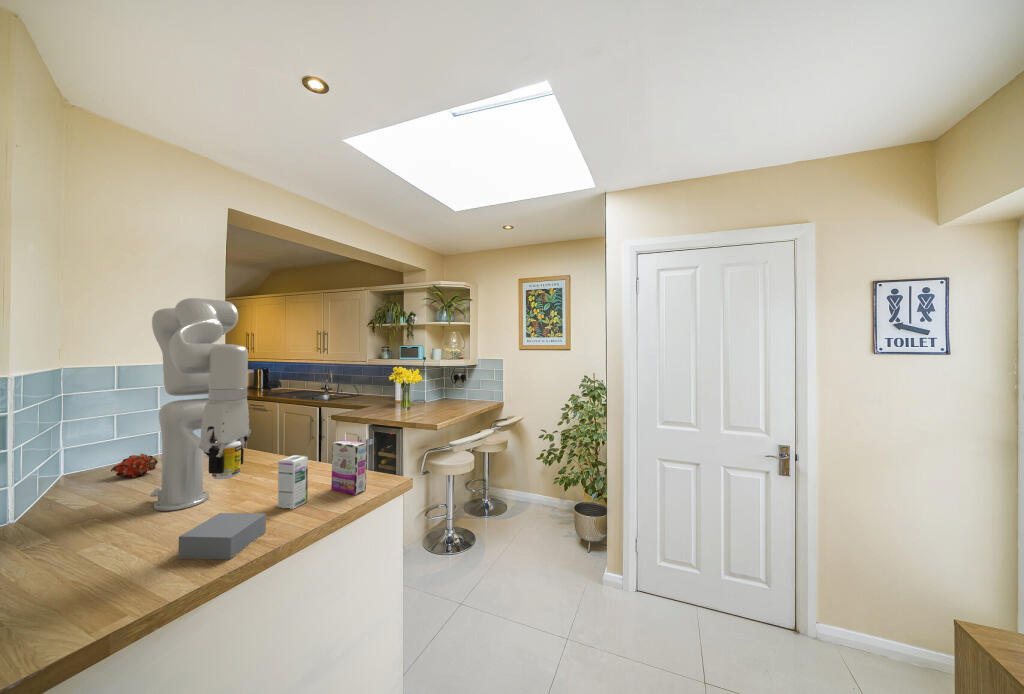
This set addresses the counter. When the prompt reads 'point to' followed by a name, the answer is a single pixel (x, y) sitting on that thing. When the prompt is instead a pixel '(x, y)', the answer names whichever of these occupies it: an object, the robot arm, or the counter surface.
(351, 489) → the candy bar box
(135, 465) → the dragon fruit
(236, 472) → the supplement bottle
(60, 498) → the counter surface
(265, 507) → the counter surface
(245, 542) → the base block
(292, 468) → the syrup box
